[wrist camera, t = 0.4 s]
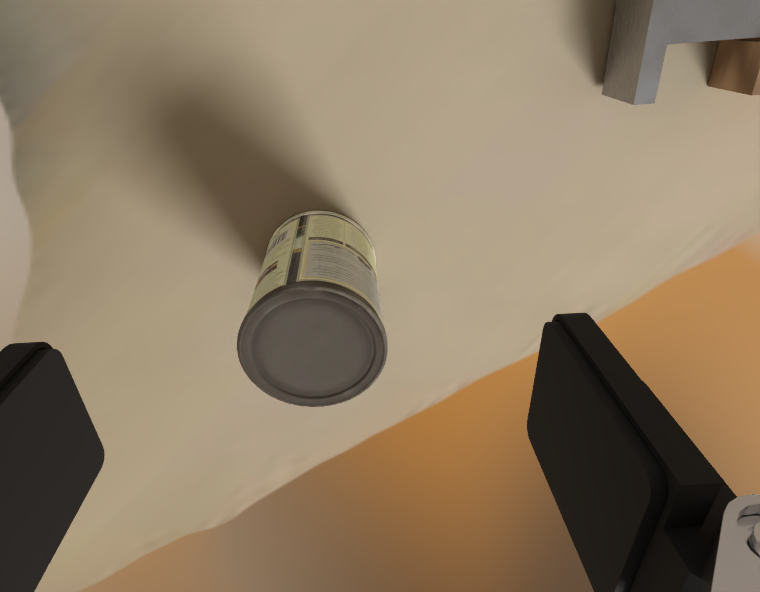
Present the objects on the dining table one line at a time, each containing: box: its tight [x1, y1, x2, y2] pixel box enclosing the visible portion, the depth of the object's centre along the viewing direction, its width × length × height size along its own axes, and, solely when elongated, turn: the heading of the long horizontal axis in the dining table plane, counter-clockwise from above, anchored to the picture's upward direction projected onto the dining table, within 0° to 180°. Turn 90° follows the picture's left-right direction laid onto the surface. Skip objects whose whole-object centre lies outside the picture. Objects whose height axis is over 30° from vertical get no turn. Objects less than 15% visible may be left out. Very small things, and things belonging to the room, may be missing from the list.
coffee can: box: [237, 211, 388, 407], centre depth 39 cm, size 10×10×14 cm
